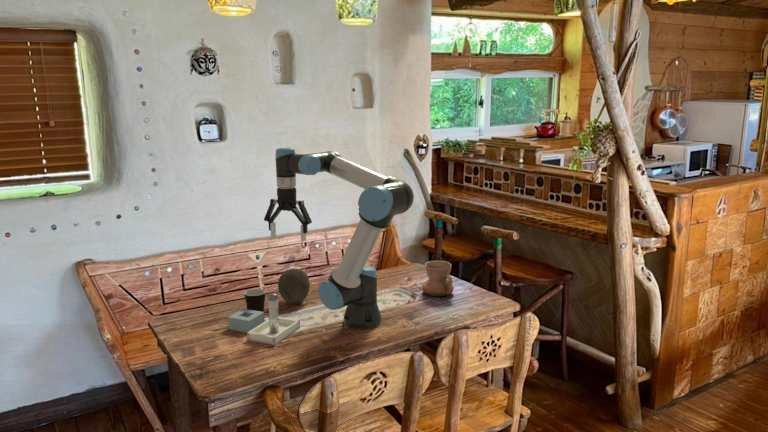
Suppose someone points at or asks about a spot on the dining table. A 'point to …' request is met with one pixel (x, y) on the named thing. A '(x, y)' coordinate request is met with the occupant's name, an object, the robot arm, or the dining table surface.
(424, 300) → the dining table surface
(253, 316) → the block
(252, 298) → the coffee mug
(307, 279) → the cantaloupe
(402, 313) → the dining table surface
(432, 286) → the ceramic jug
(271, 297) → the pin
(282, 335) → the tray
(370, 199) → the robot arm
